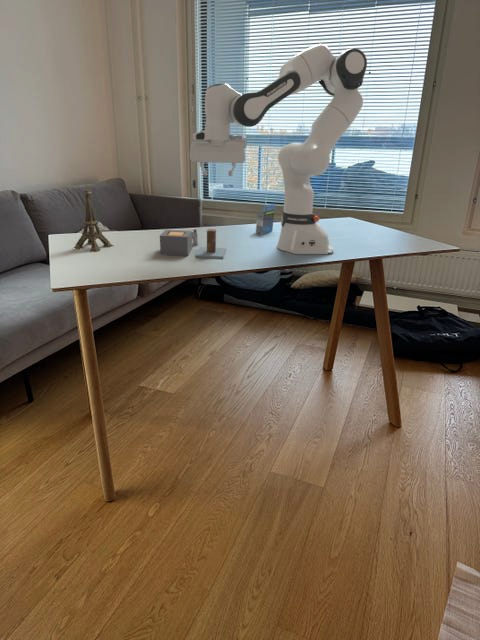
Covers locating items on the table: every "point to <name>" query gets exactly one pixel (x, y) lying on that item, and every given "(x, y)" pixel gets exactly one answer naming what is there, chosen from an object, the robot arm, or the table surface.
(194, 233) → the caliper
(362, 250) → the table surface
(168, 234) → the button
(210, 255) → the rest pad
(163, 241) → the box
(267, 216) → the label tape box
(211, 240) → the brown rectangular block
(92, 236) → the eiffel tower
